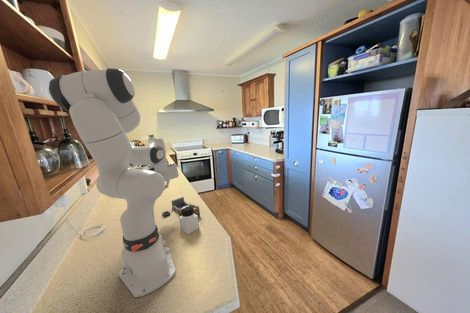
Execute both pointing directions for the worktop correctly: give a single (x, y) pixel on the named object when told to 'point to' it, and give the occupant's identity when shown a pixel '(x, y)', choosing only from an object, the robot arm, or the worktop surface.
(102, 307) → the worktop surface
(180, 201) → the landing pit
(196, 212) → the launch ramp
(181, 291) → the worktop surface
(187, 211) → the medicine bottle
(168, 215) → the square nut
